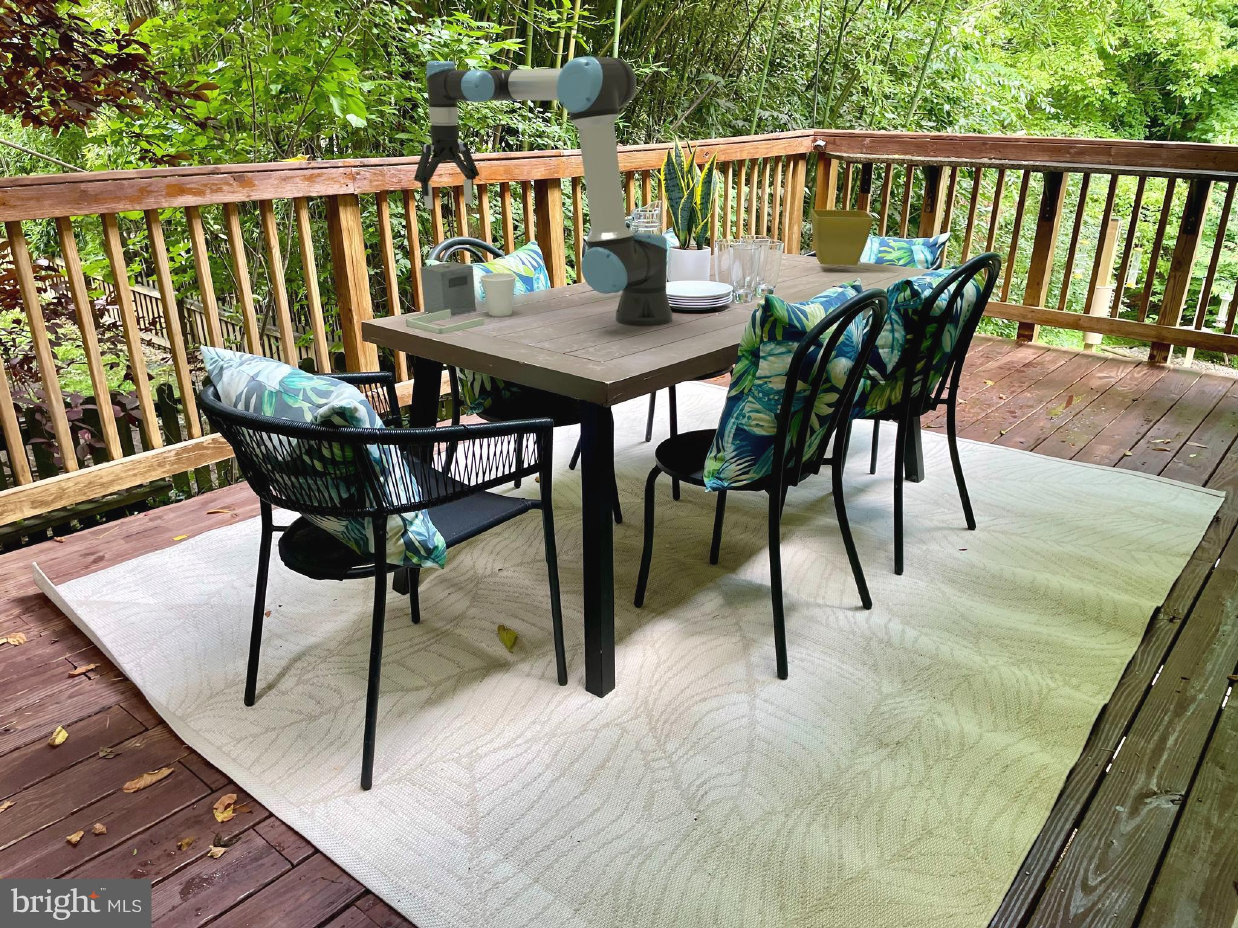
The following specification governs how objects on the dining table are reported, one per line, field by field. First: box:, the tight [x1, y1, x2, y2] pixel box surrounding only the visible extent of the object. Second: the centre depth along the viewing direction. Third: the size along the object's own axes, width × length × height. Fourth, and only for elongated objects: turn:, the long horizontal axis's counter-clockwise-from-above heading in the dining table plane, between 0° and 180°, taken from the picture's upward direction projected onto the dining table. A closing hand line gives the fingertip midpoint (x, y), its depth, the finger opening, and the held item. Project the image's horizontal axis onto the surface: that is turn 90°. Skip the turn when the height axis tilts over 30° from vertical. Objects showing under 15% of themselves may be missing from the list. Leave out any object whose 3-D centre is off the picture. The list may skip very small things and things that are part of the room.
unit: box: [419, 261, 477, 316], centre depth 247 cm, size 10×11×14 cm
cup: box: [479, 272, 517, 317], centre depth 244 cm, size 10×10×11 cm
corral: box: [405, 309, 485, 335], centre depth 233 cm, size 14×14×3 cm
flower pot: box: [810, 209, 874, 266], centre depth 312 cm, size 19×19×17 cm
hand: (449, 206), depth 247 cm, fingers open, 13 cm apart
